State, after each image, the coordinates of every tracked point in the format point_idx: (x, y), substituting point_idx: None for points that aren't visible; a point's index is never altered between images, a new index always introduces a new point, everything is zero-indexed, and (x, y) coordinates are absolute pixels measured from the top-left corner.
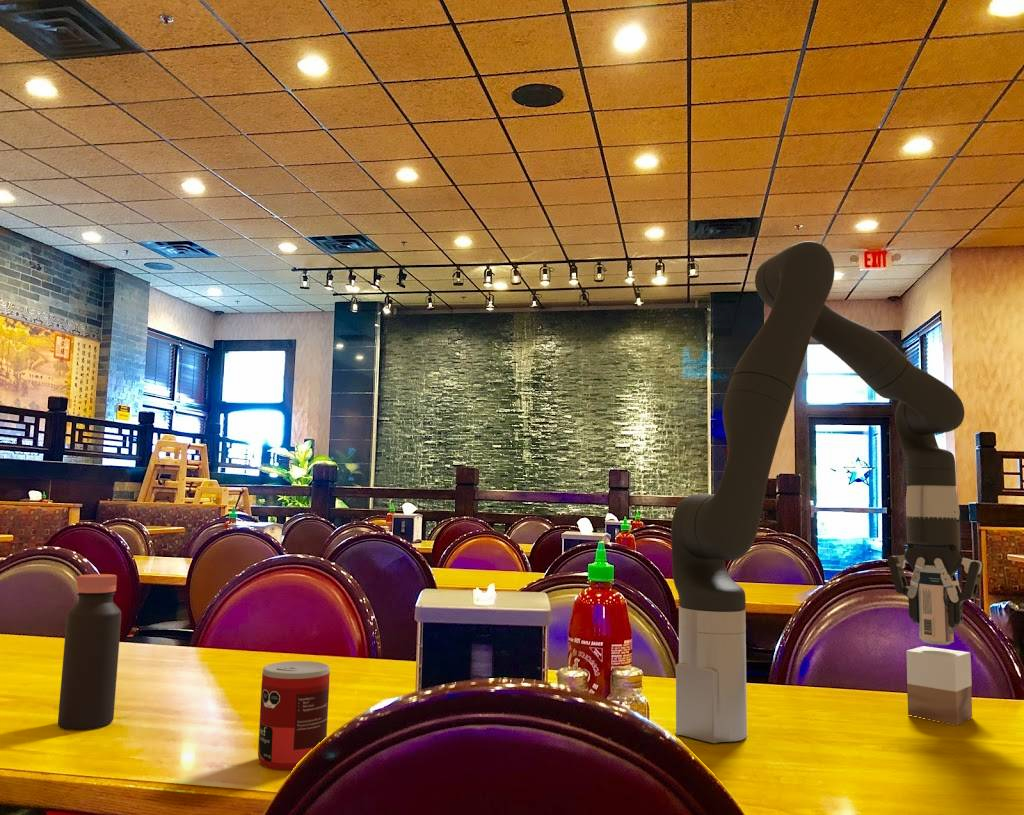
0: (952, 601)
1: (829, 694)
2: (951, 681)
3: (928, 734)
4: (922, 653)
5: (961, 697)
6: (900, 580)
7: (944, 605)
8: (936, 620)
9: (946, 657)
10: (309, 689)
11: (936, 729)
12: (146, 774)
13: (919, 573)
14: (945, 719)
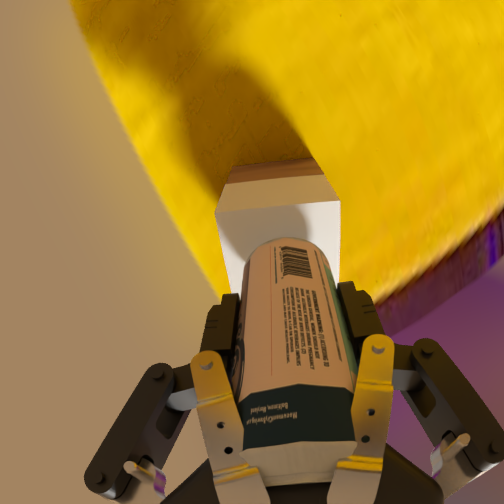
0: (214, 352)
1: (450, 199)
2: (231, 190)
3: (229, 68)
4: (297, 204)
5: None
6: (434, 382)
7: (244, 334)
8: (267, 280)
9: (235, 209)
10: None
11: (238, 111)
12: None
13: (355, 433)
14: (250, 166)
